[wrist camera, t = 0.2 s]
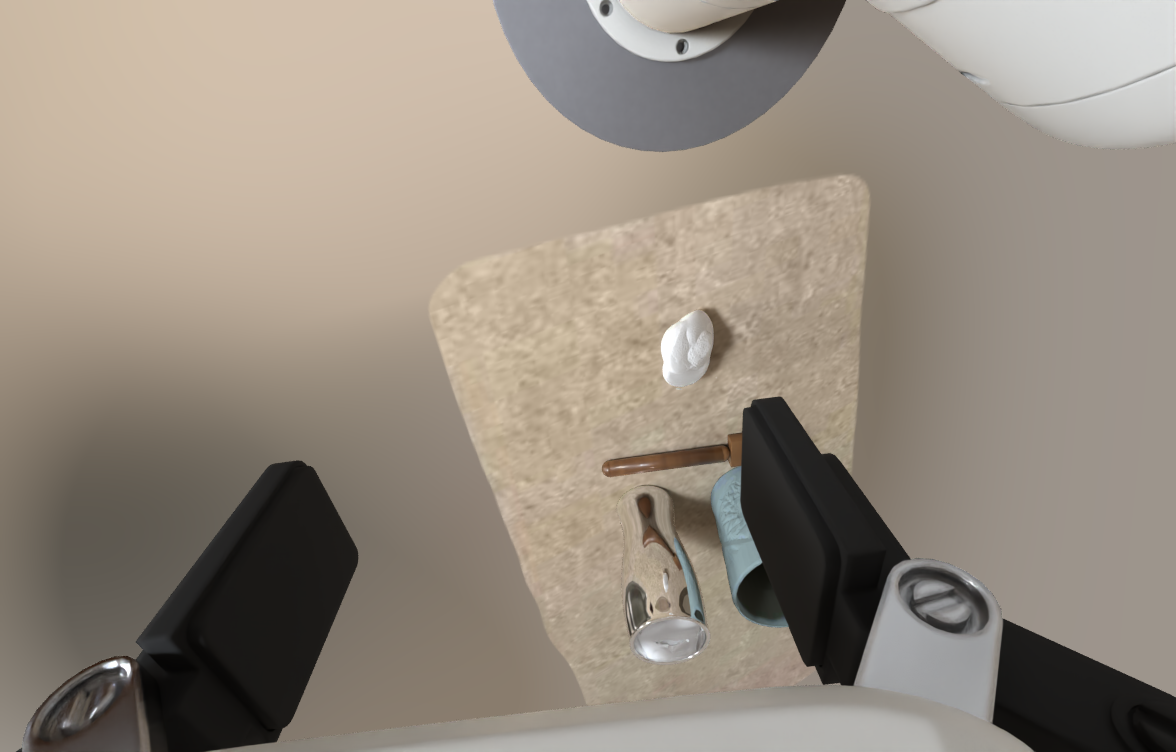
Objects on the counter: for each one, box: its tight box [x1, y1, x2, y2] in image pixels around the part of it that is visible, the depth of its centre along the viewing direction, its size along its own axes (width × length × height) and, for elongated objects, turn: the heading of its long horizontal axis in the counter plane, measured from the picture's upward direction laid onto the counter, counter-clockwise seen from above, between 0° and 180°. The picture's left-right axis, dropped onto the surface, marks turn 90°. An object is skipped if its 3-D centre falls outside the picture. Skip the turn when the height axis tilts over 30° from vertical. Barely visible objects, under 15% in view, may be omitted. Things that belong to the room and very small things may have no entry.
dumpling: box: [661, 310, 714, 389], centre depth 42 cm, size 7×5×4 cm
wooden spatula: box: [602, 433, 742, 477], centre depth 50 cm, size 17×3×2 cm, turn 98°
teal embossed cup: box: [711, 466, 789, 627], centre depth 48 cm, size 10×10×12 cm
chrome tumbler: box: [616, 486, 710, 665], centre depth 47 cm, size 7×7×15 cm
